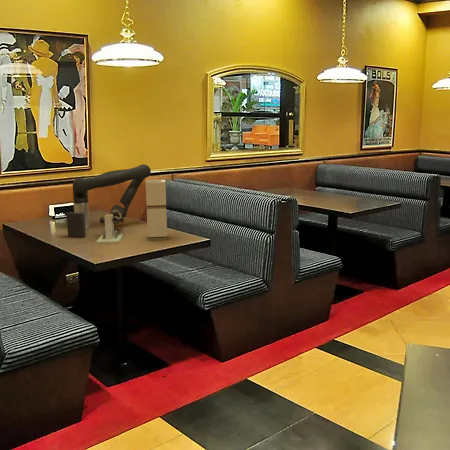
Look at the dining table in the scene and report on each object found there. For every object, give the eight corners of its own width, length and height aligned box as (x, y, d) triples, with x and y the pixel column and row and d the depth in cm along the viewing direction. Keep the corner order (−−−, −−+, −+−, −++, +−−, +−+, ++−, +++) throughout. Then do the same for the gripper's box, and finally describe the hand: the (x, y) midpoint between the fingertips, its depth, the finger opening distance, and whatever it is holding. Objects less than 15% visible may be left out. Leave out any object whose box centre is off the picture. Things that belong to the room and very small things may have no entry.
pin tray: (96, 243, 322) (96, 234, 321) (102, 236, 340) (101, 228, 338) (118, 243, 322) (118, 234, 321) (123, 236, 340) (122, 227, 339)
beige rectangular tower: (166, 235, 341) (164, 179, 333) (167, 239, 330) (165, 182, 323) (147, 236, 339) (145, 180, 332) (147, 240, 329) (146, 182, 321)
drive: (105, 238, 328) (104, 215, 325) (107, 236, 334) (106, 214, 331) (112, 238, 328) (111, 215, 325) (114, 236, 334) (113, 213, 331)
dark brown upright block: (86, 236, 339) (85, 212, 336) (82, 238, 335) (81, 214, 332) (71, 235, 343) (69, 211, 340) (67, 236, 339) (65, 212, 336)
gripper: (103, 211, 347) (97, 216, 331) (125, 210, 347) (121, 215, 332) (103, 222, 349) (98, 228, 333) (126, 222, 349) (122, 228, 333)
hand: (110, 222), depth 332 cm, fingers open, 8 cm apart
